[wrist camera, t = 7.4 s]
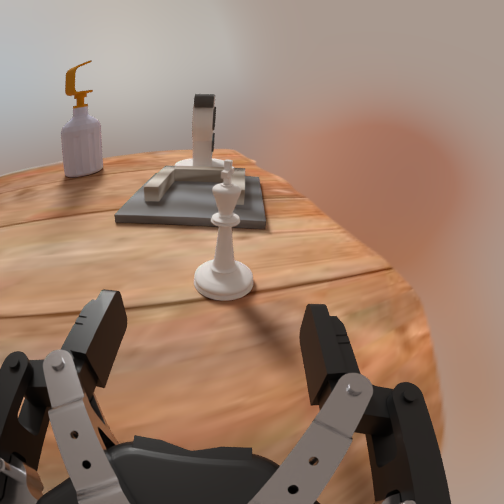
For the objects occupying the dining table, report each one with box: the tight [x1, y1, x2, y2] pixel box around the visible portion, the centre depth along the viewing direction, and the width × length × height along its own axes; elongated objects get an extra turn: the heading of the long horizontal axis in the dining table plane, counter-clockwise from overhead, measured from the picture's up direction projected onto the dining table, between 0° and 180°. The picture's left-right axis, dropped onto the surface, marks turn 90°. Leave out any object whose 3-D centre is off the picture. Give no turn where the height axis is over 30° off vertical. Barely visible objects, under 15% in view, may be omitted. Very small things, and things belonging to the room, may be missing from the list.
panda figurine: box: [175, 94, 224, 167], centre depth 52 cm, size 12×11×15 cm
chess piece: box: [194, 160, 253, 301], centre depth 21 cm, size 5×5×10 cm
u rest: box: [115, 166, 266, 229], centre depth 39 cm, size 18×18×3 cm
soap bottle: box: [61, 61, 103, 177], centre depth 45 cm, size 9×9×25 cm
